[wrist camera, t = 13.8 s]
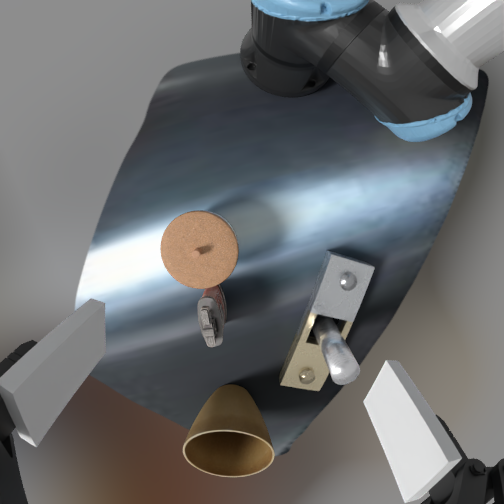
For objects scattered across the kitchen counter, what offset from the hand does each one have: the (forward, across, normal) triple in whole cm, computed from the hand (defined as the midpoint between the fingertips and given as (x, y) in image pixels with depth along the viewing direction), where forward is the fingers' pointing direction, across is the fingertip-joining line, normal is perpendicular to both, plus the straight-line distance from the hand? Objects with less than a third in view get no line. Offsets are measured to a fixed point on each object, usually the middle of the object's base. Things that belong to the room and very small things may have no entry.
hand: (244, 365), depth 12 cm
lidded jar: (+35, -7, -3) cm, 35 cm away
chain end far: (+34, +16, -18) cm, 42 cm away
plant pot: (+34, +4, -34) cm, 48 cm away
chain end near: (+34, +16, -8) cm, 39 cm away
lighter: (+34, -3, -14) cm, 37 cm away
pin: (+34, +16, -14) cm, 40 cm away
